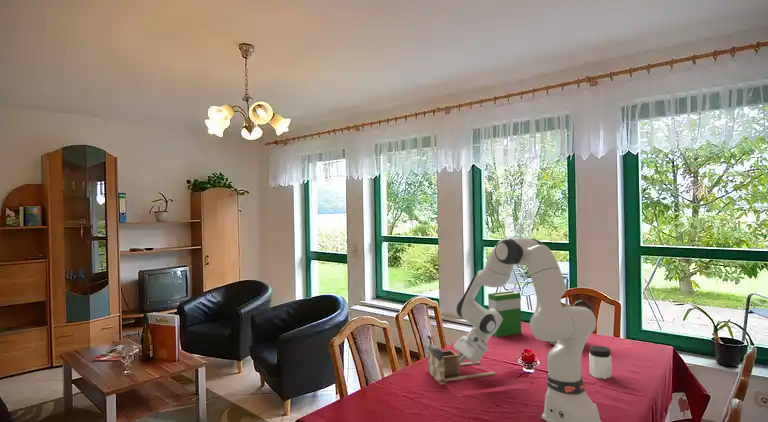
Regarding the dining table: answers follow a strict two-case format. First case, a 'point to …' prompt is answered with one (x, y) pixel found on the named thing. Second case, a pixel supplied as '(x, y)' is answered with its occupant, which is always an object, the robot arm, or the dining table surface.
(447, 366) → the crate
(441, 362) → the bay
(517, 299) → the green cereal box
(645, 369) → the dining table surface
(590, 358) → the jar
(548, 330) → the robot arm
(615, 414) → the dining table surface
